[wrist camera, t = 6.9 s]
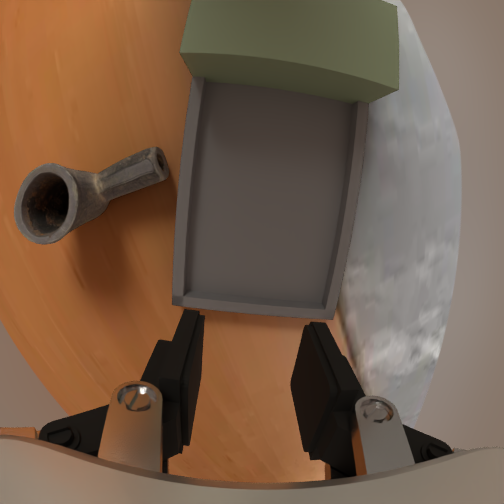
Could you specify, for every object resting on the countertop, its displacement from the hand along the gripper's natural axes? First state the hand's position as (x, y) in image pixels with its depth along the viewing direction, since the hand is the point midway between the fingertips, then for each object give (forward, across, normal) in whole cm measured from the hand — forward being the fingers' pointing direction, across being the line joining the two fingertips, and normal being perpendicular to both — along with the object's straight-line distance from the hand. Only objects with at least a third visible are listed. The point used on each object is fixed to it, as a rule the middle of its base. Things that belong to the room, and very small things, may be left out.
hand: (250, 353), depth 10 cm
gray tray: (+17, -1, -4) cm, 18 cm away
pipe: (+18, +14, -4) cm, 23 cm away
